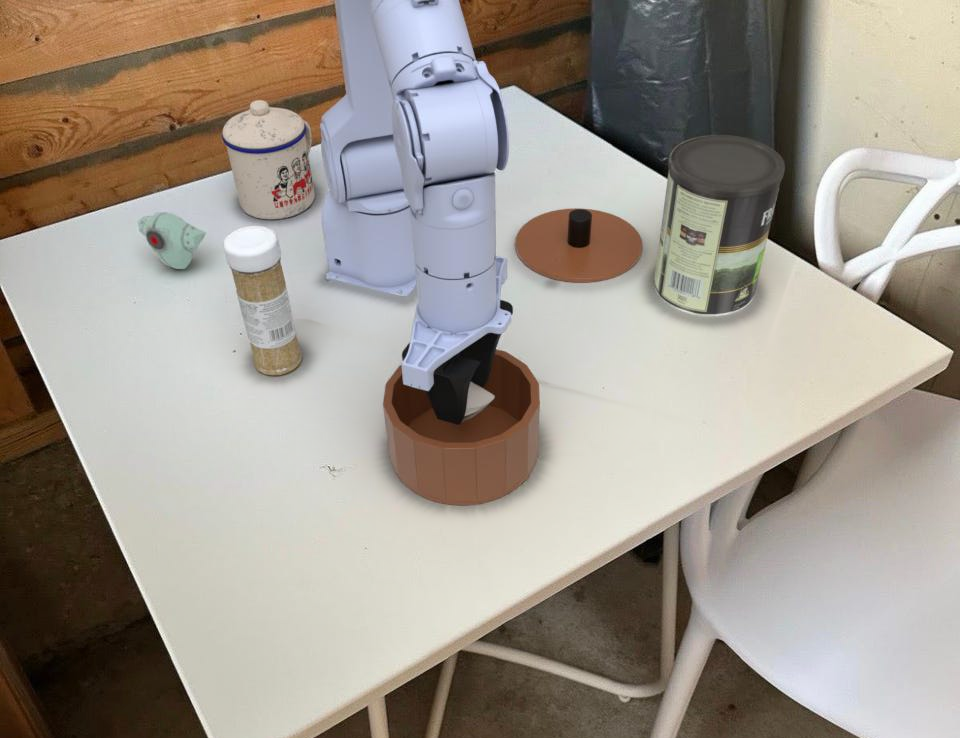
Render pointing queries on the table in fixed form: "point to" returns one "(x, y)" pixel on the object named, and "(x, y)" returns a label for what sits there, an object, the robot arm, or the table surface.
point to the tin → (466, 438)
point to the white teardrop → (476, 400)
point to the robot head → (171, 238)
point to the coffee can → (716, 223)
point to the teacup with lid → (270, 161)
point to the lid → (578, 245)
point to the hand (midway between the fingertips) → (461, 400)
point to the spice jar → (263, 298)
